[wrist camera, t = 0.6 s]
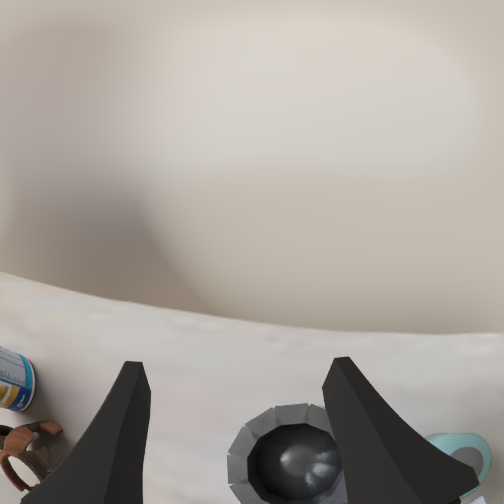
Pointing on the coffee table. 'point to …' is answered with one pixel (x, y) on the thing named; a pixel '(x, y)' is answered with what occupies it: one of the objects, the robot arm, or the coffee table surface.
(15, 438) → the brown jagged hollow piece
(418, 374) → the coffee table surface
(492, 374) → the coffee table surface
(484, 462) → the teal cylinder
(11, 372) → the beverage bottle
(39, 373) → the coffee table surface
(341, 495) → the faceted grey ring
